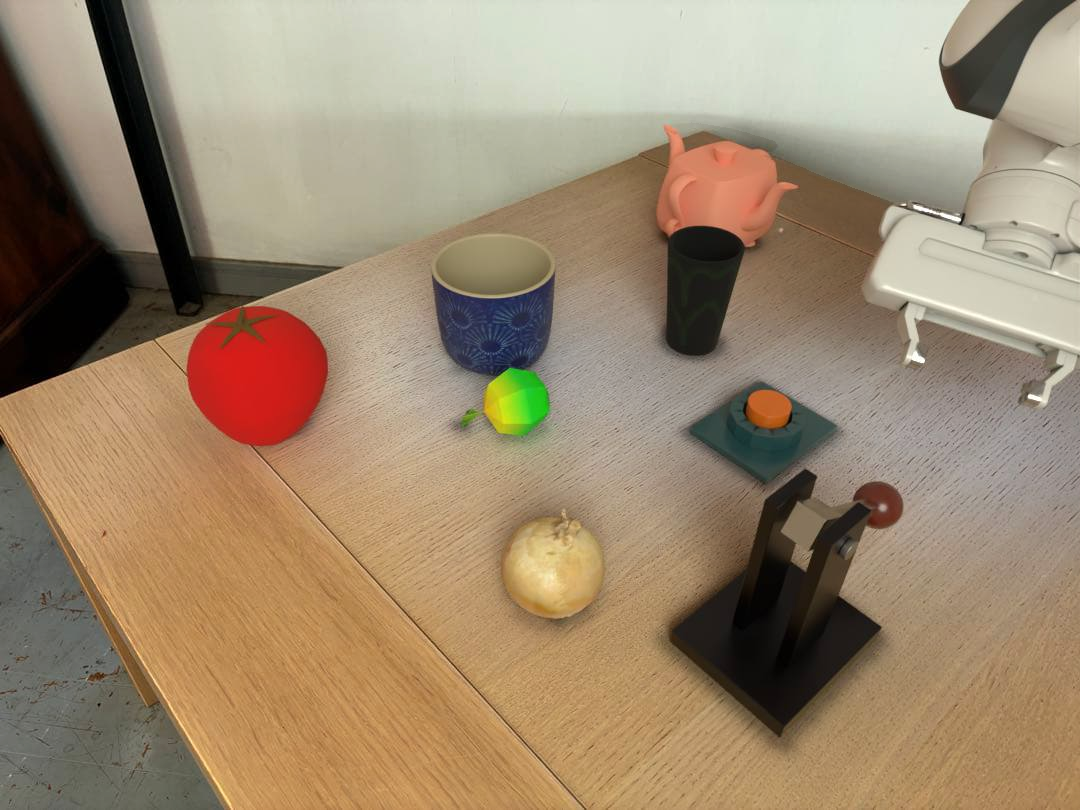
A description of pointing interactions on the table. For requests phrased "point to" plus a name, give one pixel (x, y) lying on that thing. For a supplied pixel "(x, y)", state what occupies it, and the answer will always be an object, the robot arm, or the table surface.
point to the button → (768, 409)
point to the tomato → (257, 374)
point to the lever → (818, 516)
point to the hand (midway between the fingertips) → (969, 385)
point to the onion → (553, 566)
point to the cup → (700, 286)
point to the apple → (514, 402)
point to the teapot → (719, 189)
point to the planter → (494, 301)
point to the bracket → (783, 616)
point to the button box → (762, 436)
